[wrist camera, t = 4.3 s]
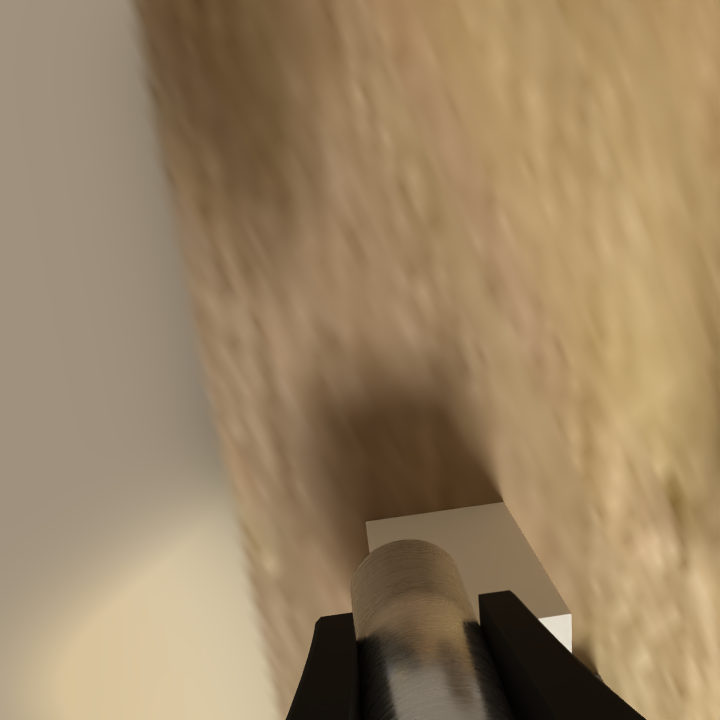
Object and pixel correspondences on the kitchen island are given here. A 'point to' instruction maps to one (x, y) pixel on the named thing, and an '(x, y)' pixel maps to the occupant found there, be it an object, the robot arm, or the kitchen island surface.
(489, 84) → the kitchen island surface
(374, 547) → the cream block
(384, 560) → the cylinder
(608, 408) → the kitchen island surface
